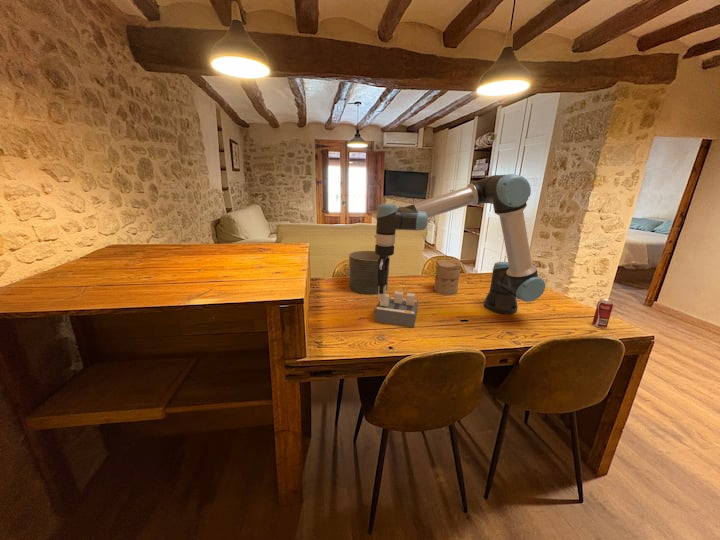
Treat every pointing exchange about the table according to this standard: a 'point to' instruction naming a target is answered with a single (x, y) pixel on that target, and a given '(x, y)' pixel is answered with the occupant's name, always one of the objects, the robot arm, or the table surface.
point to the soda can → (602, 313)
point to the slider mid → (398, 297)
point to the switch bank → (396, 313)
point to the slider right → (410, 299)
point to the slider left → (385, 301)
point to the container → (447, 277)
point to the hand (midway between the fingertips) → (381, 299)
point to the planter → (364, 272)
